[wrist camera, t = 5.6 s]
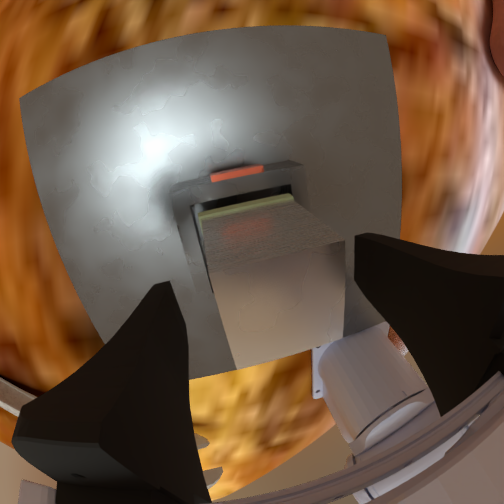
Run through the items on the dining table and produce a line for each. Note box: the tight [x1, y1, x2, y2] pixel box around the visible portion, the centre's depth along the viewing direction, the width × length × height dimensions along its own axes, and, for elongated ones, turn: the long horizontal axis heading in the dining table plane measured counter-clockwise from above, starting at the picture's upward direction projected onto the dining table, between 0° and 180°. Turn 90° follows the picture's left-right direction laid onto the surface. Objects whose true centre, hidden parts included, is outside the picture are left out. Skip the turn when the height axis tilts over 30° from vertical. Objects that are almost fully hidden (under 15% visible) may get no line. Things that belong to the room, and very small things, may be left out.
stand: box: [19, 26, 402, 380], centre depth 15 cm, size 22×22×4 cm
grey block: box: [198, 193, 345, 370], centre depth 11 cm, size 4×4×5 cm
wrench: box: [0, 377, 223, 489], centre depth 19 cm, size 8×2×30 cm
